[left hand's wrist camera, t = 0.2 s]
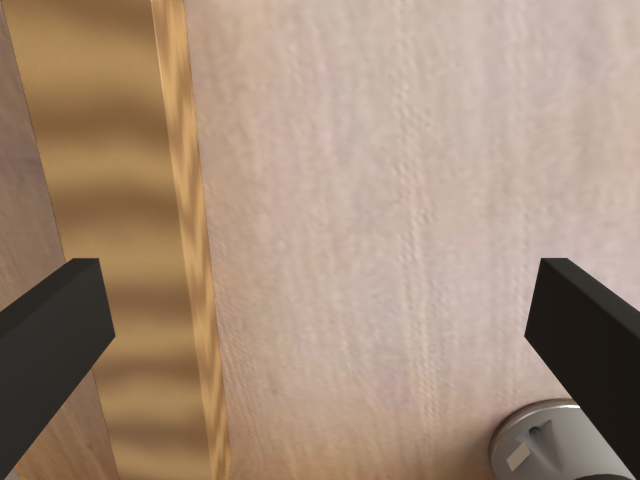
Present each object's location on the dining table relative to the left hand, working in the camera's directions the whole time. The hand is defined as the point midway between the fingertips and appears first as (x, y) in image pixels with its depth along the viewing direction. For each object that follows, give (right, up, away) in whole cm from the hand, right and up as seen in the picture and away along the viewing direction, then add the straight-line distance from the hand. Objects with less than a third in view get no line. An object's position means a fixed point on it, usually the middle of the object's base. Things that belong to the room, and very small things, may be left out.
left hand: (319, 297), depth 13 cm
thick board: (-16, -1, +30) cm, 34 cm away
